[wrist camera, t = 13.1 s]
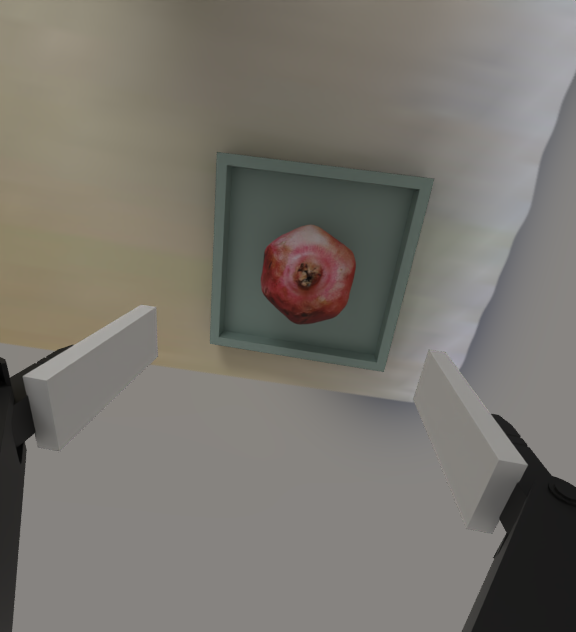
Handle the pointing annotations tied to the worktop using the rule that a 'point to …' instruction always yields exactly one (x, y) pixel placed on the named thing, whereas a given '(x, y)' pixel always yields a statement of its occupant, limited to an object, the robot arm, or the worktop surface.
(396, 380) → the worktop surface
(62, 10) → the worktop surface
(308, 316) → the fruit
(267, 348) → the tray
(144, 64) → the worktop surface
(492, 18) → the worktop surface
